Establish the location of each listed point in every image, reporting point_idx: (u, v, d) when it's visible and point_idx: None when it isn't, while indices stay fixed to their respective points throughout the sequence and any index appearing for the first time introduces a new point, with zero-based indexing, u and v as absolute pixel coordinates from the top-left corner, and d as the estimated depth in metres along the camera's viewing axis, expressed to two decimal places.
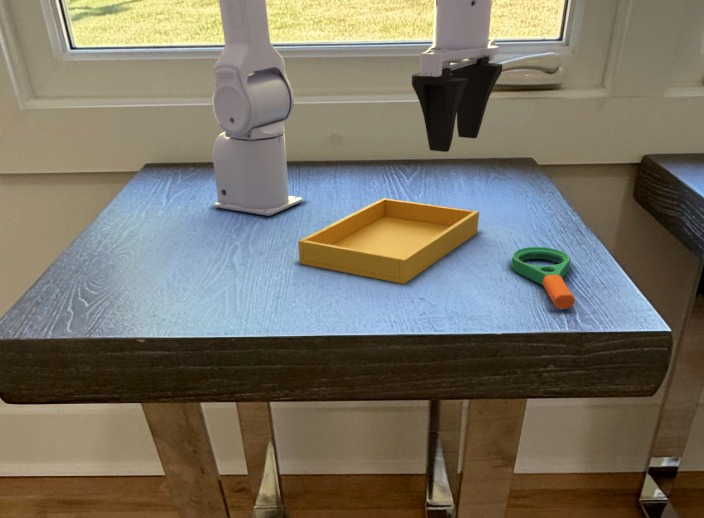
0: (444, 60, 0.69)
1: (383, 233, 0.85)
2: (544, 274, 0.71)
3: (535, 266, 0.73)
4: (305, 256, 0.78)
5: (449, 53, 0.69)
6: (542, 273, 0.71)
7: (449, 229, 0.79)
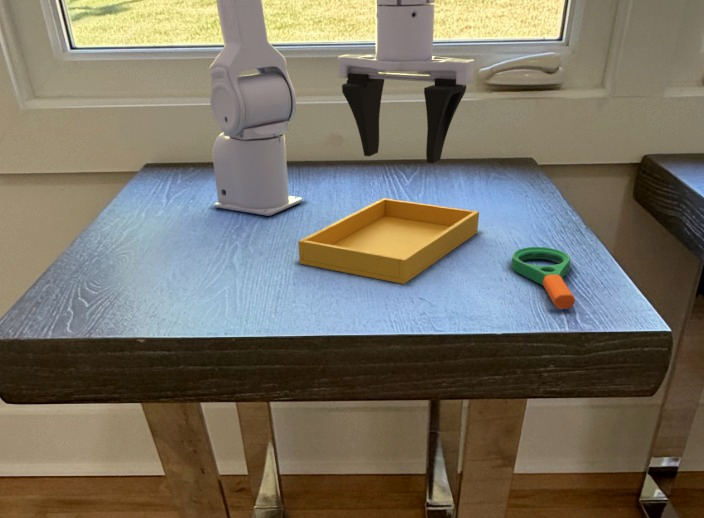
0: (346, 64, 0.73)
1: (383, 233, 0.85)
2: (544, 274, 0.71)
3: (535, 266, 0.73)
4: (305, 256, 0.78)
5: (351, 58, 0.72)
6: (542, 273, 0.71)
7: (449, 229, 0.79)
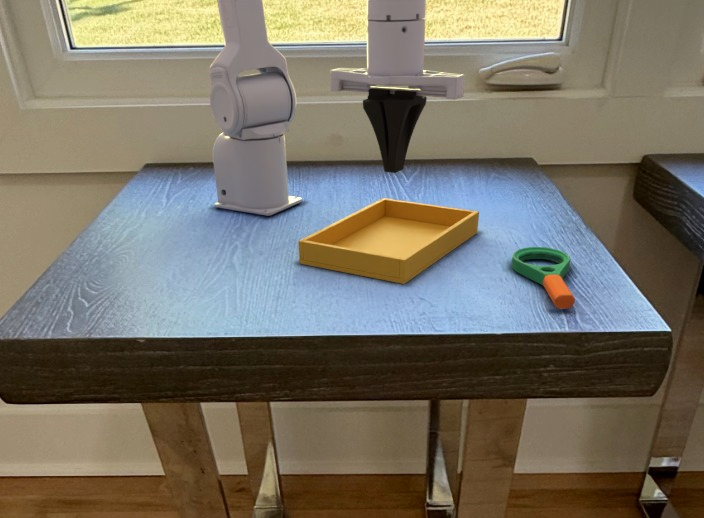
0: (339, 78, 0.74)
1: (383, 233, 0.85)
2: (544, 274, 0.71)
3: (535, 266, 0.73)
4: (305, 256, 0.78)
5: (343, 72, 0.73)
6: (542, 273, 0.71)
7: (449, 229, 0.79)
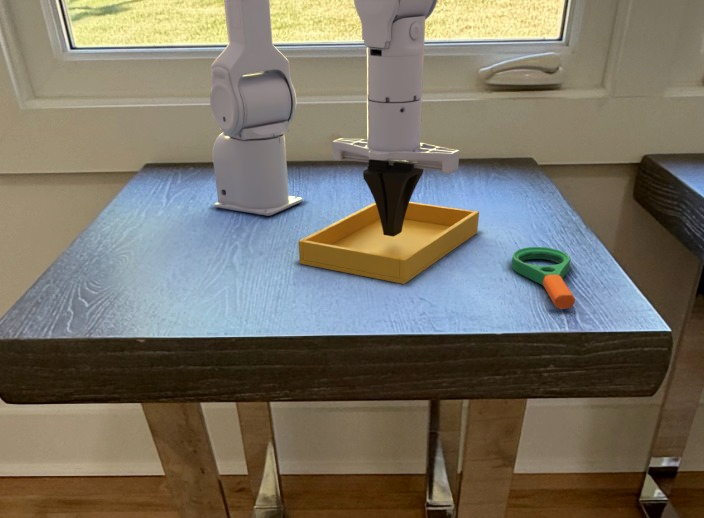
0: (340, 148, 0.78)
1: None
2: (544, 274, 0.71)
3: (535, 266, 0.73)
4: (305, 256, 0.78)
5: (344, 144, 0.77)
6: (542, 273, 0.71)
7: (449, 229, 0.79)
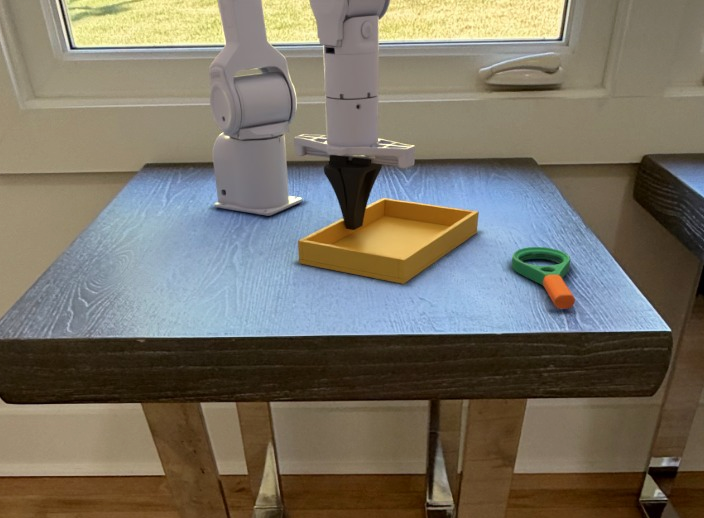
0: (302, 144, 0.80)
1: (383, 233, 0.85)
2: (544, 274, 0.71)
3: (535, 266, 0.73)
4: (305, 256, 0.78)
5: (305, 140, 0.79)
6: (542, 273, 0.71)
7: (449, 229, 0.79)
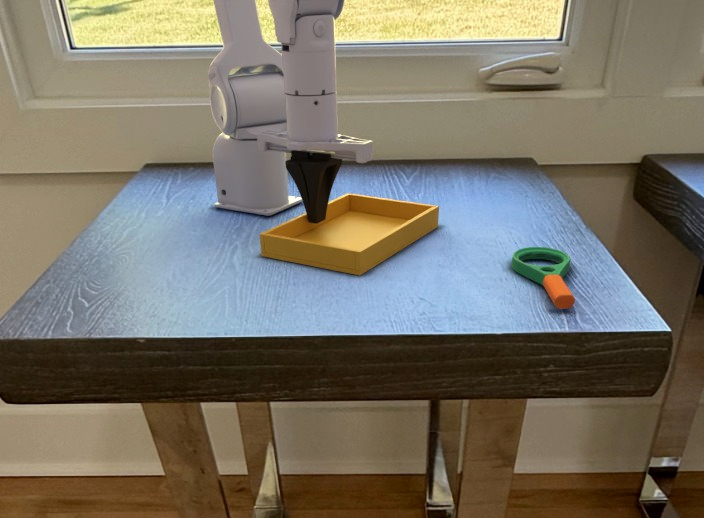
0: (264, 140, 0.82)
1: (345, 227, 0.87)
2: (544, 274, 0.71)
3: (535, 266, 0.73)
4: (266, 249, 0.80)
5: (267, 135, 0.81)
6: (542, 273, 0.71)
7: (407, 223, 0.81)
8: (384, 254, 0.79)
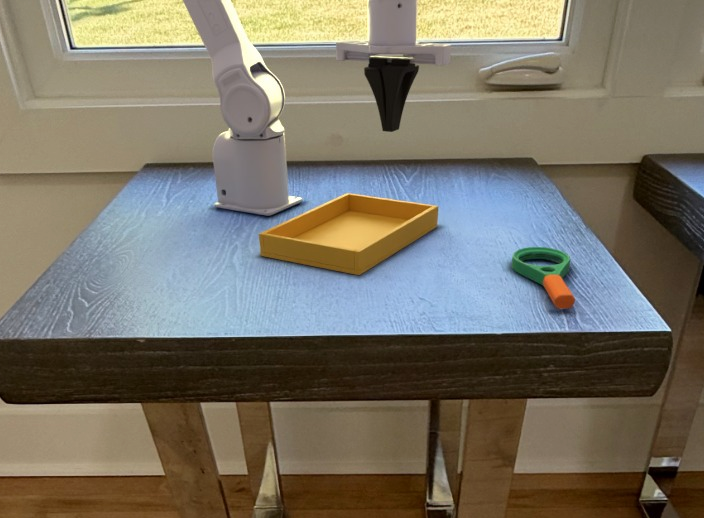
0: (343, 48, 0.86)
1: (345, 227, 0.87)
2: (544, 274, 0.71)
3: (535, 266, 0.73)
4: (265, 248, 0.80)
5: (347, 43, 0.85)
6: (542, 273, 0.71)
7: (406, 222, 0.81)
8: (383, 254, 0.79)
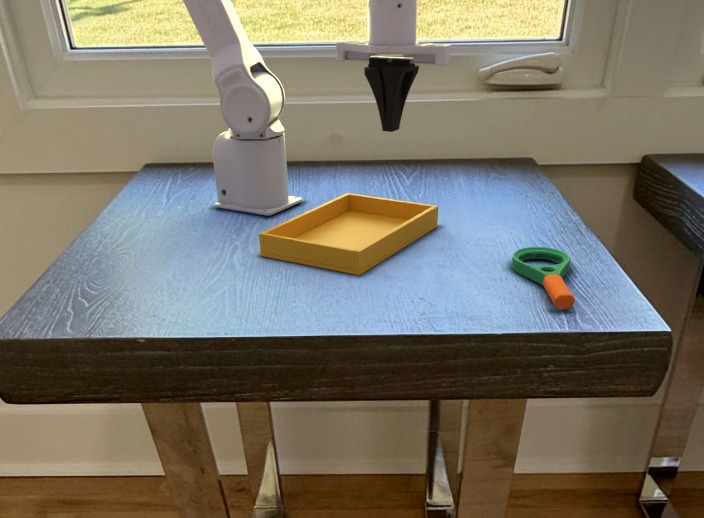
0: (343, 48, 0.86)
1: (345, 227, 0.87)
2: (544, 274, 0.71)
3: (535, 266, 0.73)
4: (265, 248, 0.80)
5: (347, 43, 0.85)
6: (542, 273, 0.71)
7: (406, 222, 0.81)
8: (383, 254, 0.79)
